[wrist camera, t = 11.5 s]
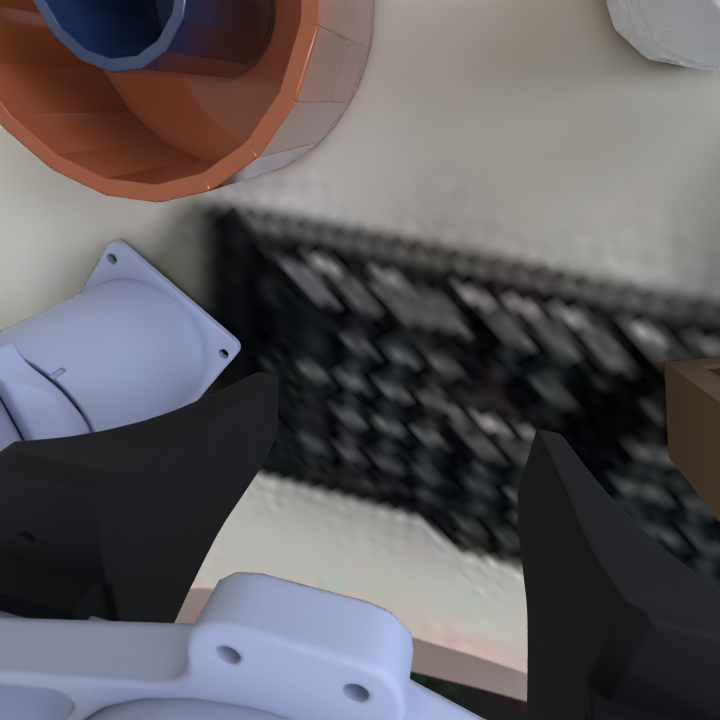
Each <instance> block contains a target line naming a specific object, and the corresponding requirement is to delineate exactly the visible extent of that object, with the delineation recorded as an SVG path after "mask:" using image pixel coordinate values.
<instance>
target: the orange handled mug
mask: <svg viewBox="0 0 720 720" xmlns="http://www.w3.org/2000/svg"><path fill="white" fill-rule="evenodd" d="M373 20H374V0H275V19H274V26H273V31H272V35H271V38H270V41H269V43H268V46H267V48H266V50H265V52H264V53H263V55H262V56H261V58H260V59H259V61H258V62H257V63H256V64H255V65H254V66H253V67H252V68H251V69H249V70H248V71H247V72H245V73H243V74H242V75H240V76H237V77H234V78H231V79H226V80H200V79H188V78H176V77H164V76H152V75H140V74H128V73H116V72H110V71H107V70H105V69H102V68H99V67H97V66H94V65H92V64H89V63H86V62H84V61H82V60H81V59H79V58H78V57H77V56H76V55H75V54H74V53H73V52H72V51H71V50H69V49H68V48H67V47H66V46H65V45H64V44H63V43H62V42H61V41H60V40H58V39H57V38H56V37H55V36H54V34H53V33H52V32H51V30H50V28H49V27H48V25H47V23H46V22H45V20H44V18H43V17H42V15H41V13H40V11H39V10H38V8H37V6H36V5H35V3H34V1H33V0H0V124H1V126H3V127H4V128H5V129H6V130H7V131H8V132H9V133H10V134H11V135H13V136H14V137H15V138H16V139H17V140H18V141H20V142H21V143H22V144H23V145H24V146H25V147H27V148H28V149H29V150H30V151H31V152H32V153H33V154H35V155H36V156H37V157H38V158H39V159H40V160H42V161H43V162H44V163H45V164H46V165H47V166H49V167H50V168H52V169H53V170H54V171H56V172H58V173H61V174H63V175H65V176H67V177H69V178H71V179H73V180H75V181H77V182H79V183H81V184H83V185H85V186H87V187H90V188H92V189H94V190H96V191H98V192H100V193H102V194H105V195H107V196H114V197H122V198H129V199H136V200H144V201H151V202H164V201H168V200H173V199H177V198H181V197H185V196H190V195H194V194H198V193H202V192H207V191H211V190H214V189H217V188H220V187H223V186H226V185H229V184H233V183H236V182H239V181H242V180H245V179H248V178H251V177H255V176H258V175H261V174H264V173H267V172H270V171H273V170H277V169H280V168H282V167H284V166H285V165H287V164H288V163H290V162H292V161H294V160H296V159H297V158H299V157H300V156H302V155H303V154H305V153H307V152H308V151H310V150H311V149H312V148H313V147H314V146H315V145H317V144H318V143H319V142H320V141H321V140H322V139H323V138H324V137H325V136H326V135H327V134H328V133H329V132H330V130H331V129H332V128H333V127H334V126H335V125H336V123H337V122H338V121H339V119H340V118H341V116H342V115H343V113H344V111H345V110H346V108H347V107H348V105H349V103H350V101H351V99H352V97H353V95H354V93H355V91H356V89H357V87H358V85H359V82H360V79H361V76H362V73H363V70H364V68H365V65H366V61H367V56H368V52H369V48H370V43H371V38H372V29H373Z"/></svg>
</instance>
